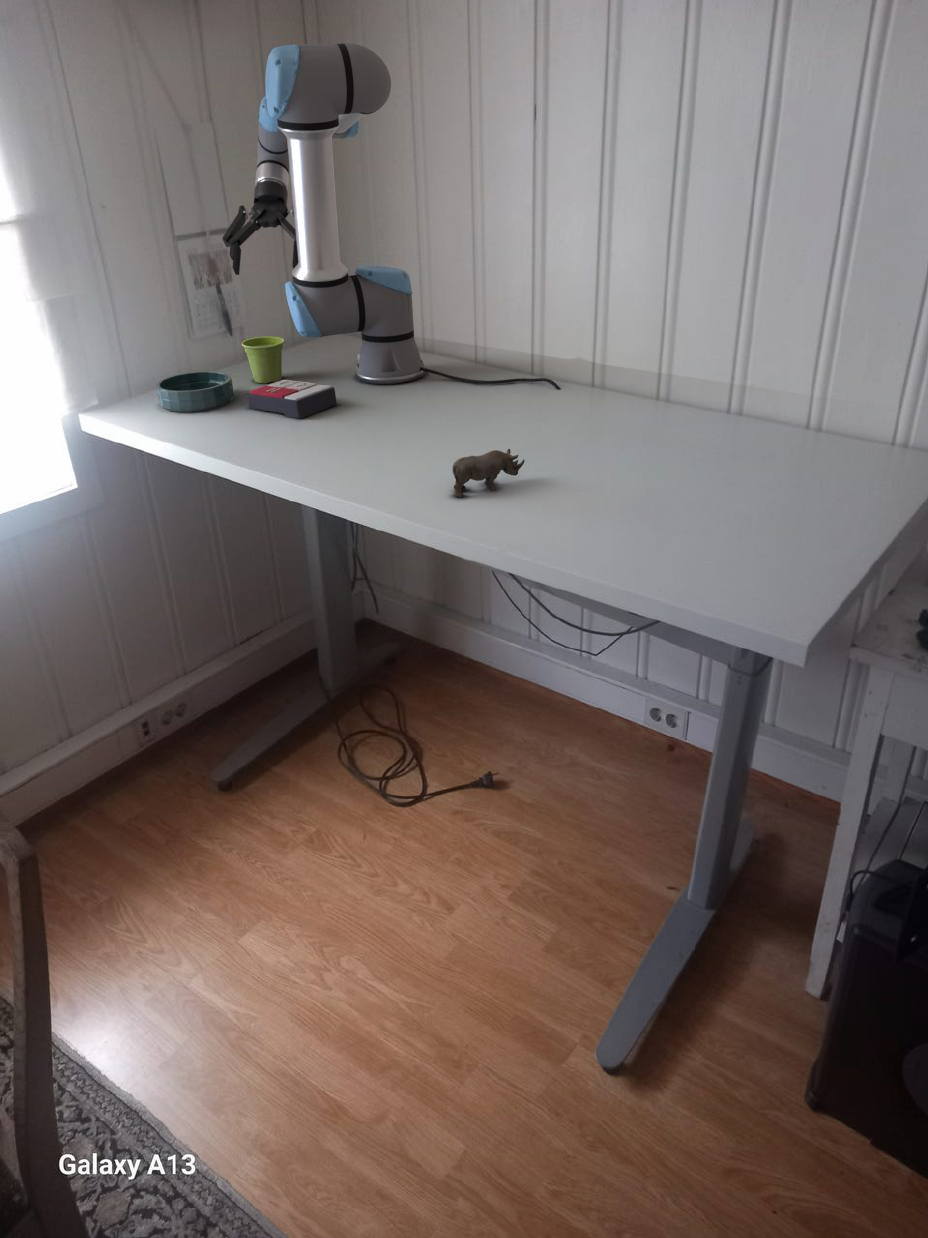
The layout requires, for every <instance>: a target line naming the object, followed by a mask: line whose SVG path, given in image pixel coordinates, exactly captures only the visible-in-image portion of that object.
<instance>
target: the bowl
mask: <svg viewBox="0 0 928 1238" xmlns="http://www.w3.org/2000/svg"><path fill="white" fill-rule="evenodd" d="M155 387H156V392H157V397H158V403H159V406H160V407H162V408H163V409H166V410H167V411H170V412H177V413H196V412H197V413H198V412H203V411H210V410H213V409H218V408H220V407H223V406H225V405H227V404H229V403H230V402H231V401H232V400H233V399H234V397H235V391H234V384H233V379H232V375H230V373H226V372H221V371H214V370H212V371H211V370H204V371H191V372H184V373H179V374H174V375H170V376H167V377H165V378H163V379H160V380H159V381H158V382H157V383H156V386H155Z"/></svg>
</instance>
